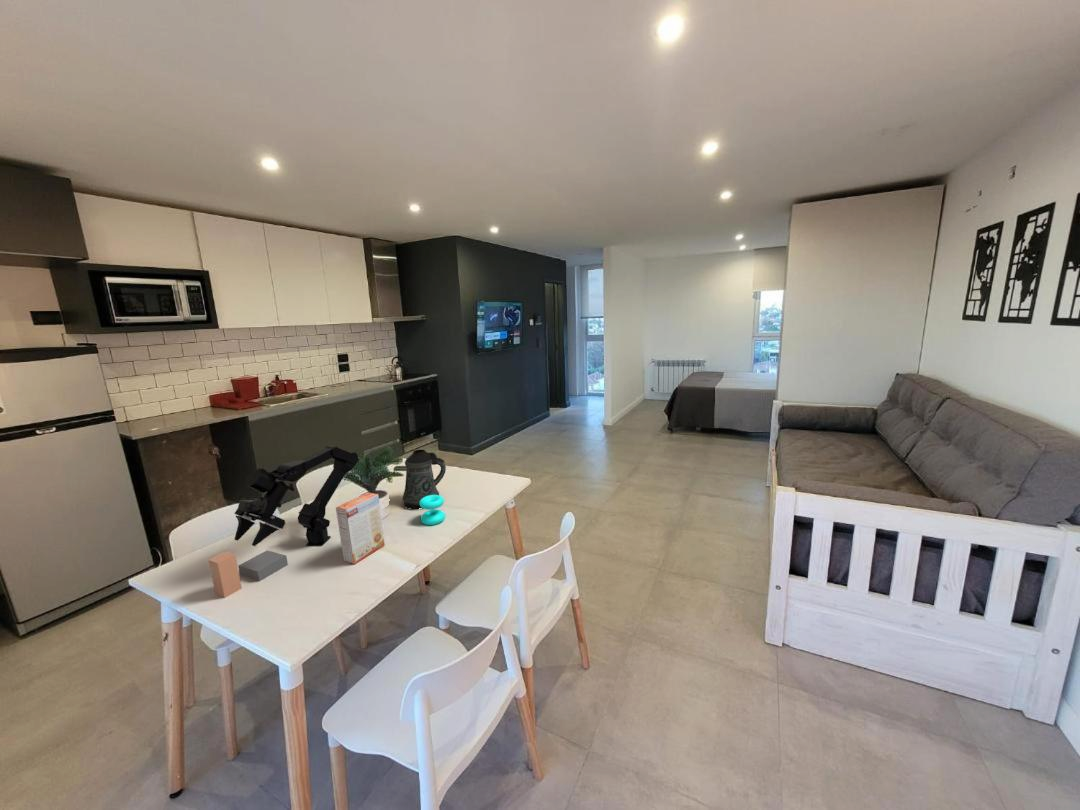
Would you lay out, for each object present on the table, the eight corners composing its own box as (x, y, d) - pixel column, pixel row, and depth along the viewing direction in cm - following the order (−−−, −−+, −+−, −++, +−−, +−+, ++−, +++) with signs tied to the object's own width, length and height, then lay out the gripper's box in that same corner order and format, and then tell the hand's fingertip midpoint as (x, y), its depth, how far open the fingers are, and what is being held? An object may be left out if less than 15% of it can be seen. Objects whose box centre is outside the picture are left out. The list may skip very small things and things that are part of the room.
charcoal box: (268, 560, 150) (267, 550, 149) (288, 565, 146) (286, 555, 145) (240, 576, 141) (238, 565, 140) (259, 582, 137) (257, 571, 136)
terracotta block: (232, 584, 136) (225, 551, 133) (241, 588, 134) (235, 554, 131) (215, 593, 131) (208, 559, 129) (224, 597, 129) (217, 563, 127)
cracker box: (374, 542, 160) (368, 491, 155) (385, 545, 157) (379, 493, 153) (342, 561, 147) (334, 506, 143) (354, 565, 145) (346, 509, 140)
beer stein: (397, 502, 194) (391, 451, 189) (434, 490, 207) (430, 442, 202) (412, 513, 182) (407, 459, 177) (451, 500, 195) (447, 449, 190)
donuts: (417, 496, 176) (441, 492, 180) (419, 517, 178) (443, 513, 182) (420, 505, 167) (445, 501, 171) (422, 528, 169) (447, 523, 173)
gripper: (235, 484, 141) (205, 529, 134) (270, 492, 133) (240, 540, 126) (262, 497, 150) (235, 540, 142) (297, 505, 142) (270, 551, 134)
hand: (244, 542), depth 136 cm, fingers open, 9 cm apart
